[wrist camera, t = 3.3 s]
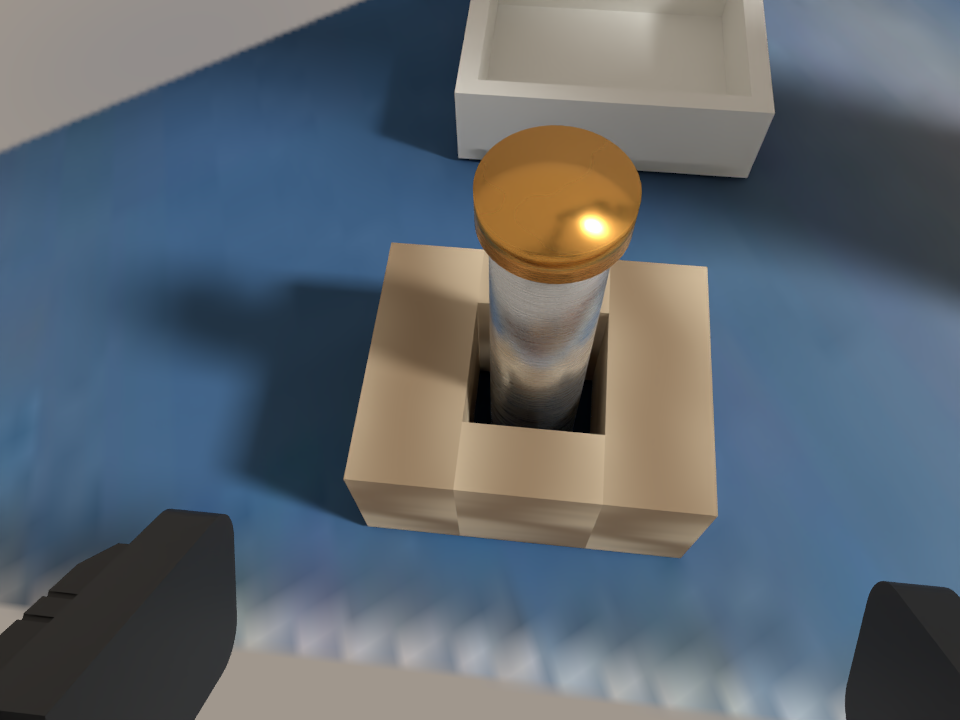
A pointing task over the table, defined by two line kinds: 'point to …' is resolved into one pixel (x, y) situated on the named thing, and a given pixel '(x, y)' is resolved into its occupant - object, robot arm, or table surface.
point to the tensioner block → (527, 451)
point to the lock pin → (549, 263)
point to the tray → (621, 78)
